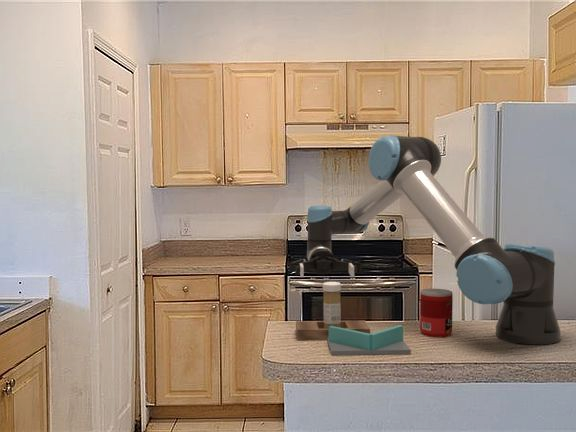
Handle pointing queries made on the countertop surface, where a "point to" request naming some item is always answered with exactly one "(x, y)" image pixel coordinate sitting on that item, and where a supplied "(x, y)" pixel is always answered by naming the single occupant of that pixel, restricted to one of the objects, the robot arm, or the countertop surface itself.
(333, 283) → the sprinkles bottle
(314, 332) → the brown hollow frame
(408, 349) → the v cradle
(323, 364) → the countertop surface
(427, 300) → the canned food
